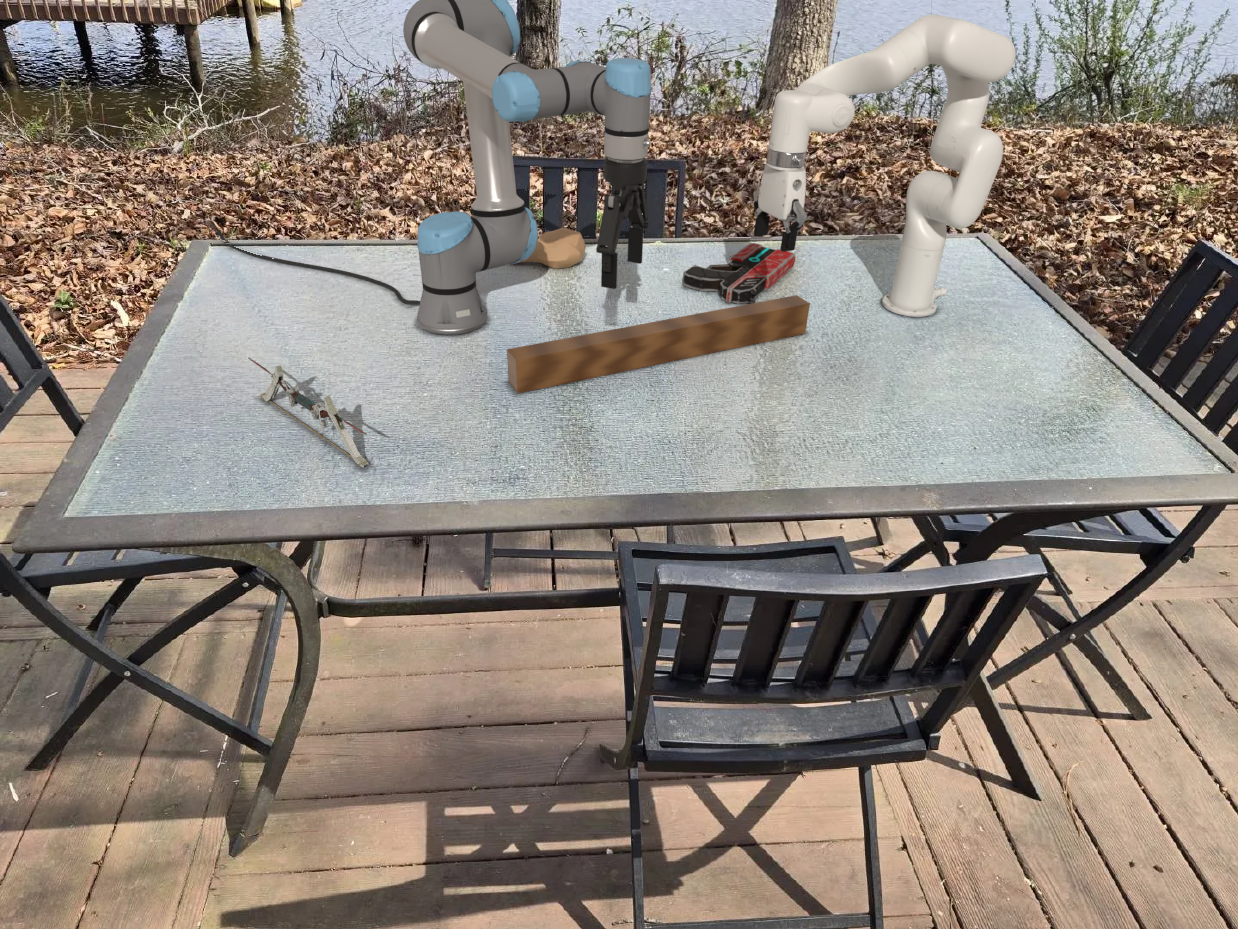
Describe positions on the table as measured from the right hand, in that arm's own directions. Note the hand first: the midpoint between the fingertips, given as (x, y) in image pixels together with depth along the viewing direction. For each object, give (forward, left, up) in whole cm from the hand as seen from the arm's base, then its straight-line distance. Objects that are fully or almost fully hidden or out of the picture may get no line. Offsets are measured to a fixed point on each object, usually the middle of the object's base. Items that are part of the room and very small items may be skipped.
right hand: (773, 242), depth 183 cm
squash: (+27, -59, -22) cm, 68 cm away
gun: (-14, -30, -22) cm, 40 cm away
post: (+24, 0, -22) cm, 32 cm away
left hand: (+38, +6, +1) cm, 38 cm away
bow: (+97, +1, -22) cm, 99 cm away
